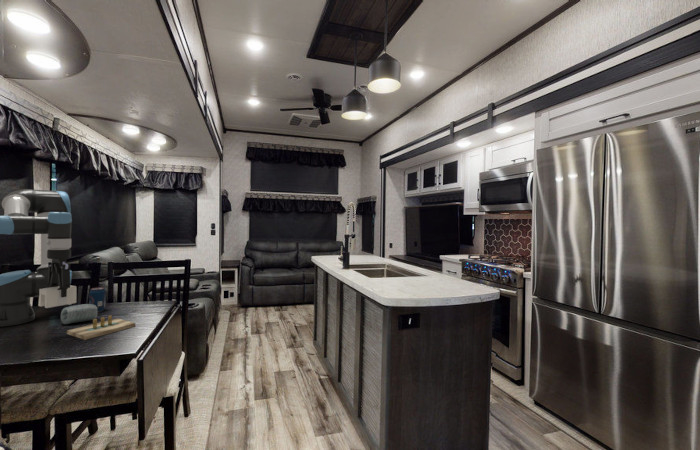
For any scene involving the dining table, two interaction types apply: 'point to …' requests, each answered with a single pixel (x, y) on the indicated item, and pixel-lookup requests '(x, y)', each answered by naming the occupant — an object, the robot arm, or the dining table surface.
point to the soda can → (97, 298)
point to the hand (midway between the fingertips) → (58, 303)
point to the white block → (55, 296)
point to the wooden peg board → (100, 328)
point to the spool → (78, 313)
